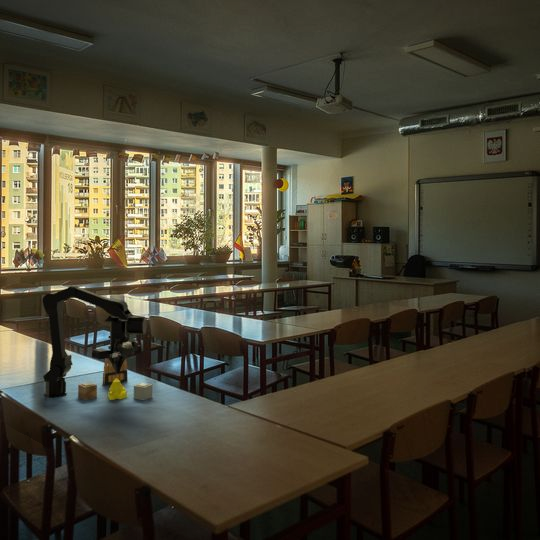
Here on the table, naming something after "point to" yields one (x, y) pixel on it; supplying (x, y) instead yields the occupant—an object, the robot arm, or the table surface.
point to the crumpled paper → (117, 391)
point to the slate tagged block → (142, 391)
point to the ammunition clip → (110, 373)
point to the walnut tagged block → (87, 391)
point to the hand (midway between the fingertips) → (117, 373)
